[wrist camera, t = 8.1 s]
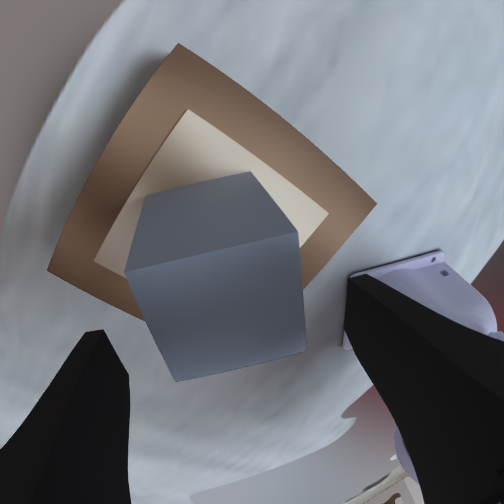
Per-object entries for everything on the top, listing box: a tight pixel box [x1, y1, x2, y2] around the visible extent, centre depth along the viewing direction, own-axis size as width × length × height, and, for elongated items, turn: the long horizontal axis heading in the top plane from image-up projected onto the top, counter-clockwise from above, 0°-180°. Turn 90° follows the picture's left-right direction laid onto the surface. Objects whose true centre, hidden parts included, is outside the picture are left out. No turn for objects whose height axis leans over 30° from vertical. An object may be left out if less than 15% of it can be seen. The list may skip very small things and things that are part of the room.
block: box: [124, 171, 306, 382], centre depth 11 cm, size 4×4×6 cm
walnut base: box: [47, 43, 377, 321], centre depth 16 cm, size 12×12×4 cm
